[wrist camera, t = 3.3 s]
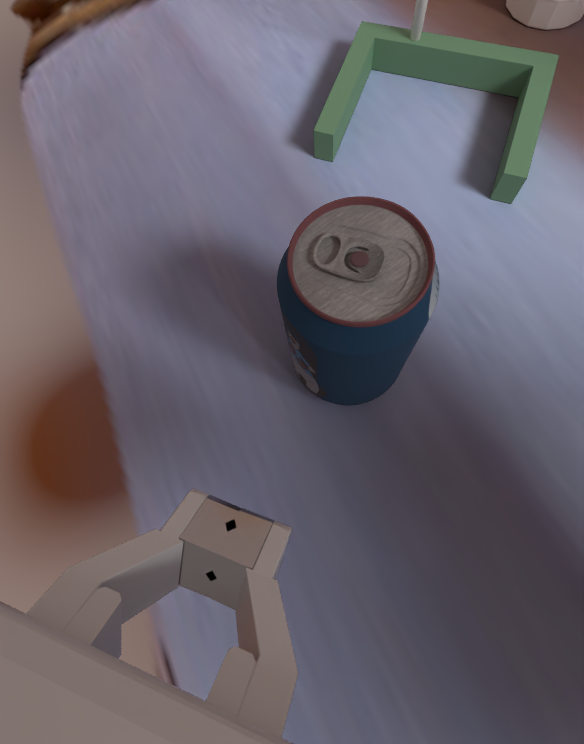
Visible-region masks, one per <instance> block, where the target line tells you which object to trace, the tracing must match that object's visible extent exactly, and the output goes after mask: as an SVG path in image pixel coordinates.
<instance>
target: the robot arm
mask: <svg viewBox="0 0 584 744" xmlns="http://www.w3.org/2000/svg"><path fill="white" fill-rule="evenodd" d="M291 531H292V528H291V527H289V526H286V525H284V524H281V523H279V522H276V521H275V520H272V519H269V518H267V517H264V516H262V515H259V514H256V513H254V512H251V511H249V510H246V509H243V508H239V507H237V506H235V505H232V504H230V503H228V502H225V501H223V500H221V499H218V498H216V497H214V496H211V495H209V494H206V493H204V492H202V491H199V490H197V489H194V488H193V489H192V490H191V491H190V492H189V493H188V494H187V495H186V497H185V498H184V499H183V501H182V502H181V503H180V505H179V506H178V507H177V509H176V510H175V511H174V513H173V514H172V515H171V517H170V518H169V519H168V521H167V522H166V523H165V525H164V526H163V527H162V529H161V530H160V531H159V530H157V529H154V530H152V531H150V532H147V533H145V534H143V535H140V536H138V537H136V538H134V539H132V540H129V541H127V542H125V543H122V544H121V545H118V546H116V547H114V548H111V549H109V550H107V551H104V552H102V553H100V554H98V555H96V556H93V557H91V558H89V559H86V560H84V561H82V562H79V563H77V564H75V565H73V566H70V567H68V568H67V570H65V572H64V573H63V574H62V575H61V576H60V577H59V578H58V579H57V580H56V582H55V583H54V584H53V585H52V586H51V587H50V588H49V589H48V590H47V591H46V593H45V594H44V595H43V596H42V597H41V598H40V599H39V600H38V601H37V603H36V604H35V605H34V606H33V607H32V608H31V609H30V610H29V611H28V612H27V613H26V614H25V613H23V612H21V611H19V610H17V609H15V608H13V607H11V606H9V605H7V604H5V603H3V602H0V744H292V743H290V742H288V741H286V740H284V739H282V738H281V737H282V733H283V729H284V725H285V721H286V718H287V714H288V710H289V706H290V703H291V699H292V695H293V691H294V687H295V684H296V680H297V676H298V670H297V666H296V661H295V657H294V652H293V648H292V643H291V639H290V634H289V630H288V625H287V621H286V616H285V612H284V607H283V603H282V598H281V594H280V589H279V585H278V581H277V580H276V577H277V575H278V572H279V569H280V565H281V562H282V559H283V556H284V553H285V550H286V547H287V544H288V540H289V537H290V534H291ZM178 585H180V586H182V587H185V588H187V589H190V590H192V591H194V592H197V593H199V594H202V595H204V596H207V597H209V598H211V599H213V600H215V601H217V602H219V603H222V604H224V605H226V606H228V607H230V608H232V609H234V610H236V620H237V632H238V643H239V648H238V647H236V646H235V647H233V648H231V649H229V650H228V652H227V654H226V657H225V659H224V661H223V663H222V666H221V668H220V670H219V673H218V675H217V677H216V679H215V682H214V684H213V686H212V689H211V691H210V693H209V695H208V698H207V700H206V701H204V700H202V699H200V698H198V697H196V696H194V695H192V694H190V693H188V692H186V691H184V690H182V689H180V688H177V687H175V686H173V685H171V684H169V683H167V682H165V681H163V680H161V679H159V678H157V677H155V676H153V675H151V674H149V673H147V672H144V671H142V670H140V669H138V668H136V667H134V666H132V665H130V664H128V663H126V662H124V661H122V660H120V659H119V657H120V655H121V624H123V623H124V622H126V621H127V620H129V619H131V618H132V617H134V616H135V615H137V614H138V613H139V612H141V611H143V610H144V609H146V608H147V607H149V606H150V605H152V604H153V603H155V602H156V601H158V600H159V599H161V598H162V597H164V596H165V595H167V594H168V593H170V592H171V591H173V590H175V589H176V588H178Z"/></svg>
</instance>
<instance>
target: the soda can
mask: <svg viewBox="0 0 584 744" xmlns="http://www.w3.org/2000/svg"><path fill="white" fill-rule="evenodd" d="M277 292H278V298H279V302H280V307H281V311H282V316H283V320H284V325H285V329H286V333H287V338H288V342H289V347H290V351H291V356H292V360H293V365H294V368H295V371H296V373H297V375H298V377H299V379H300V380H301V382H302V383H303V384H304V385H305V387H306V388H307V389H308V390H309V391H311V392H312V393H313V394H314V395H316V396H317V397H319V398H321V399H323V400H325V401H328V402H331V403H334V404H340V405H357V404H362V403H365V402H368V401H371V400H373V399H375V398H377V397H379V396H380V395H382V394H383V393H384V392H385V391H387V390H388V389H389V388H390V387H391V385H392V384H393V383H394V381H395V380H396V378H397V377H398V375H399V373H400V371H401V369H402V367H403V366H404V364H405V362H406V360H407V358H408V357H409V355H410V353H411V351H412V349H413V348H414V346H415V344H416V342H417V340H418V339H419V337H420V335H421V333H422V331H423V330H424V328H425V326H426V324H427V322H428V321H429V319H430V317H431V315H432V313H433V311H434V309H435V306H436V303H437V300H438V295H439V273H438V268H437V264H436V262H435V253H434V248H433V244H432V241H431V239H430V236H429V234H428V233H427V231H426V229H425V228H424V226H423V225H422V224H421V222H420V221H419V220H418V219H417V218H416V217H415V216H414V215H413V214H412V213H411V212H409V211H408V210H407V209H405V208H404V207H402V206H400V205H398V204H396V203H393V202H391V201H387V200H384V199H380V198H374V197H363V196H362V197H348V198H343V199H339V200H335V201H333V202H330V203H328V204H325V205H323V206H322V207H320V208H318V209H317V210H315V211H314V212H312V213H311V214H310V215H309V216H308V217H307V218H305V219H304V221H303V222H302V223H301V224H300V225H299V227H298V228H297V230H296V231H295V233H294V235H293V237H292V239H291V242H290V245H289V247H288V248H287V250H286V252H285V253H284V255H283V258H282V260H281V263H280V266H279V270H278V276H277Z"/></svg>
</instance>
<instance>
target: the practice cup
mask: <svg viewBox="0 0 584 744" xmlns="http://www.w3.org/2000/svg"><path fill="white" fill-rule="evenodd" d="M427 3H428V0H416V6H415V12H414V17H413V23H412V28H411V30H410V29H405V28H399V27H393V26H387V25H381V24H375V23H370V22H364V21H362V22H361V24H360V27H359V29H358V31H357V34H356V36H355V38H354V40H353V43H352V45H351V47H350V49H349V52H348V54H347V56H346V58H345V61H344V63H343V65H342V67H341V70H340V72H339V74H338V76H337V79H336V81H335V83H334V86H333V88H332V90H331V92H330V95H329V97H328V99H327V101H326V104H325V106H324V108H323V110H322V113H321V115H320V117H319V119H318V122H317V124H316V126H315V129H314V157H315V158H319V159H323V160H327V161H331V162H333V160H334V158H335V155H336V153H337V151H338V148H339V146H340V143H341V141H342V139H343V136H344V134H345V131H346V129H347V126H348V124H349V122H350V119H351V117H352V114H353V112H354V110H355V107H356V105H357V102H358V100H359V98H360V95H361V93H362V90H363V88H364V86H365V83H366V81H367V78H368V76H369V74H370V71H371V69H373V70H378V71H383V72H389V73H394V74H399V75H404V76H409V77H415V78H420V79H425V80H430V81H436V82H441V83H446V84H451V85H456V86H462V87H467V88H472V89H477V90H483V91H488V92H493V93H498V94H503V95H509V96H514V97H519V99H518V102H517V106H516V109H515V113H514V116H513V120H512V123H511V127H510V130H509V134H508V137H507V141H506V144H505V148H504V151H503V155H502V158H501V162H500V166H499V169H498V173H497V176H496V180H495V183H494V187H493V190H492V194H491V197H490V199H493V200H497V201H502V202H506V203H510V204H511V203H512V202H513V200H514V198H515V197H516V195H517V194H518V192H519V190H520V189H521V187H522V185H523V184H524V182H525V181H526V179H527V176H528V172H529V169H530V165H531V161H532V157H533V153H534V149H535V146H536V142H537V138H538V134H539V130H540V126H541V123H542V119H543V115H544V111H545V107H546V103H547V100H548V96H549V92H550V88H551V84H552V80H553V77H554V73H555V69H556V65H557V61H558V57H559V55H556V54H550V53H544V52H539V51H533V50H527V49H521V48H515V47H509V46H504V45H498V44H492V43H486V42H480V41H474V40H469V39H463V38H457V37H451V36H445V35H439V34H434V33H428V32H422V28H423V23H424V18H425V13H426V8H427Z"/></svg>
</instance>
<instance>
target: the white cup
mask: <svg viewBox="0 0 584 744" xmlns="http://www.w3.org/2000/svg"><path fill="white" fill-rule="evenodd" d="M506 7H507V9H508V10H509V12H510V13H511V15H512V17H513V18H515V19H516V20H518V21H519V22H521V23H523V24H524V25H526V26H529V27H533V28H538V29H543V30H550V29H560V28H565V27H567V26H569V25H571V24H573V23H575V22H578V21H579V20H580V19H581V18H582V17H583V15H584V0H506Z"/></svg>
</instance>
